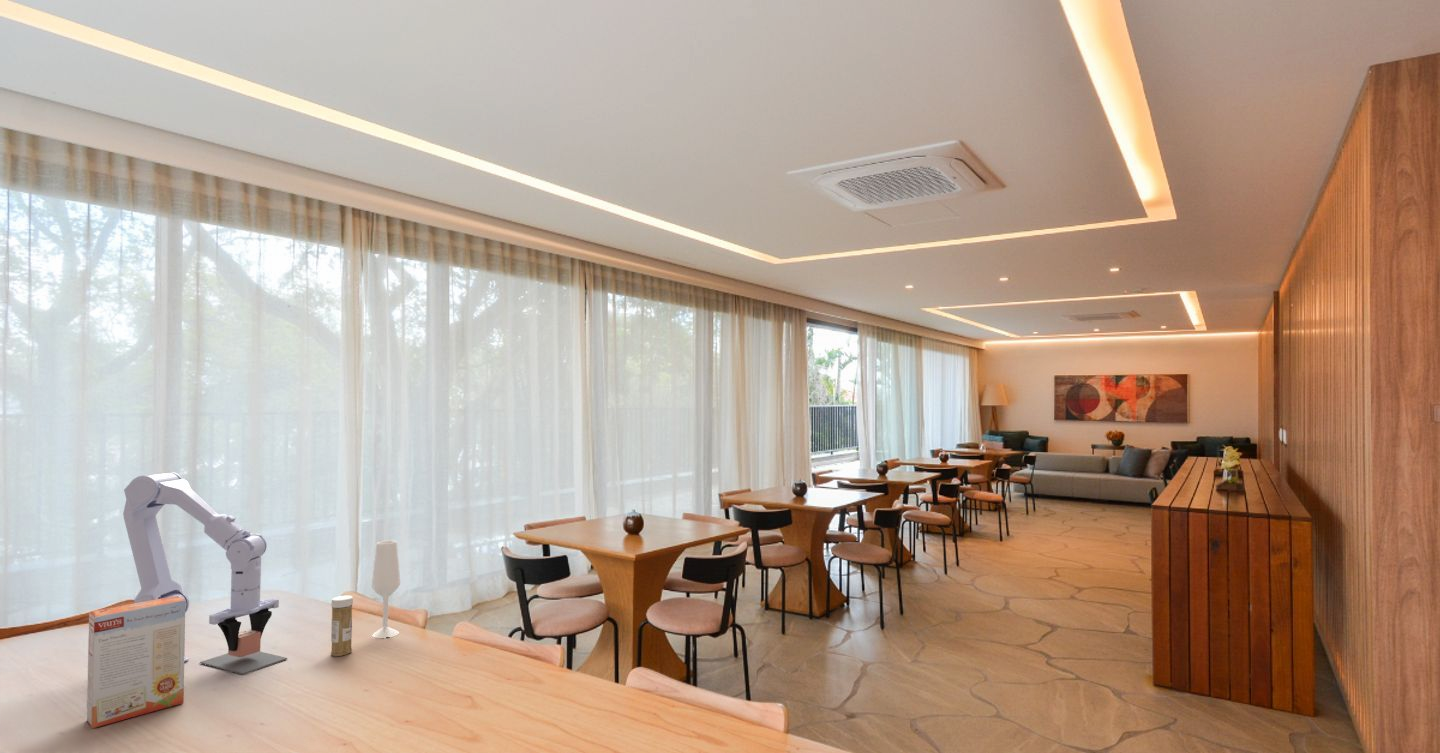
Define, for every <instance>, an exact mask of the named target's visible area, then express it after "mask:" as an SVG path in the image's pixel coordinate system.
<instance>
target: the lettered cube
mask: <svg viewBox="0 0 1440 753" xmlns="http://www.w3.org/2000/svg"><path fill="white" fill-rule="evenodd" d="M261 639H262V636H261V632H259V631H255V630H251V628H250V629H249V628H248V629H246V630H244V629H243V630H242V631H239V634H238V648H237V650H236V651H230V650H229V649H227V650H228V655H232V656H236V657H244V656H247V655H250V654H253V653H256V652H259V651H260V652H261Z"/></svg>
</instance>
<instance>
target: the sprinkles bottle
mask: <svg viewBox="0 0 1440 753" xmlns="http://www.w3.org/2000/svg"><path fill="white" fill-rule="evenodd" d="M353 604H354V597H353V596H352V595H340V596H339V595H338V596H335V597H333V598H331V613H332V614H331V638H330V640H331V652H330V655H331V656H334V657H343V655H344V656H345V655H349V654H350V653H352V651H353V649H352V648H353V647H352V638H353Z"/></svg>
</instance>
